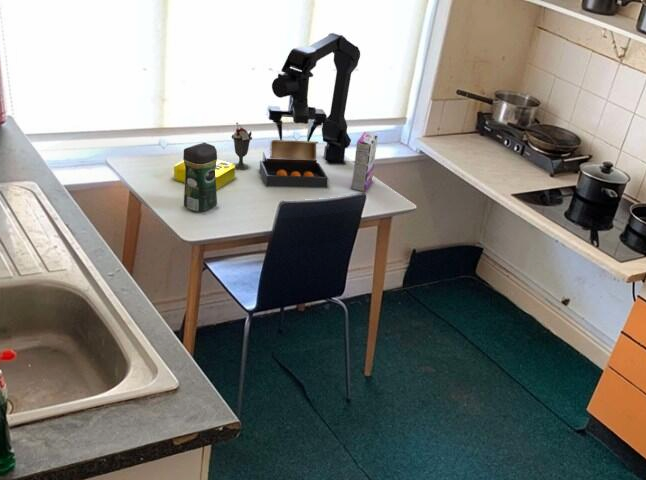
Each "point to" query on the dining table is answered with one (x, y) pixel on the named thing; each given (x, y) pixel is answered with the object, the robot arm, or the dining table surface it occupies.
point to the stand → (267, 158)
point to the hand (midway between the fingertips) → (294, 140)
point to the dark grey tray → (271, 178)
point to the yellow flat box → (223, 172)
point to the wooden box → (293, 149)
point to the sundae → (241, 145)
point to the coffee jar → (200, 177)
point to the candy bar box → (364, 161)
